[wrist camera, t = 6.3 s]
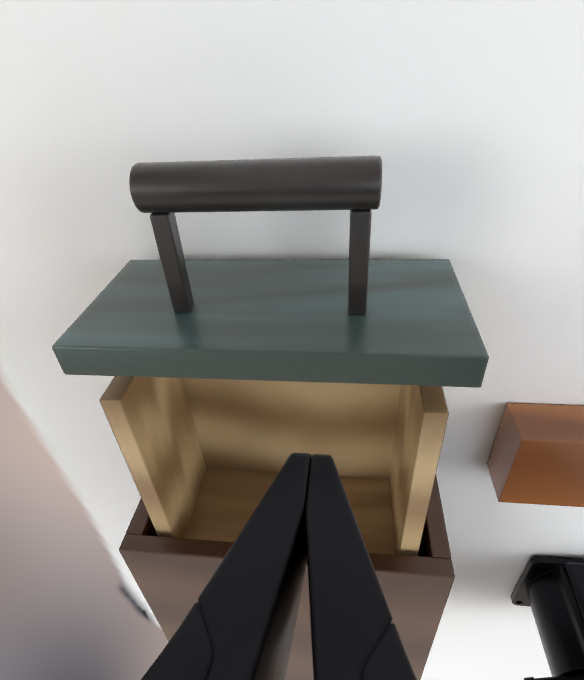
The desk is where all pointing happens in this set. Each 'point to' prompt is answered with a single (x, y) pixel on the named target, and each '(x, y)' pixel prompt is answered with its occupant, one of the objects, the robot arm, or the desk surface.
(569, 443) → the brown rectangular box
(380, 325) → the drawer
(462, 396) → the desk surface
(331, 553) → the robot arm
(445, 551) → the cabinet
